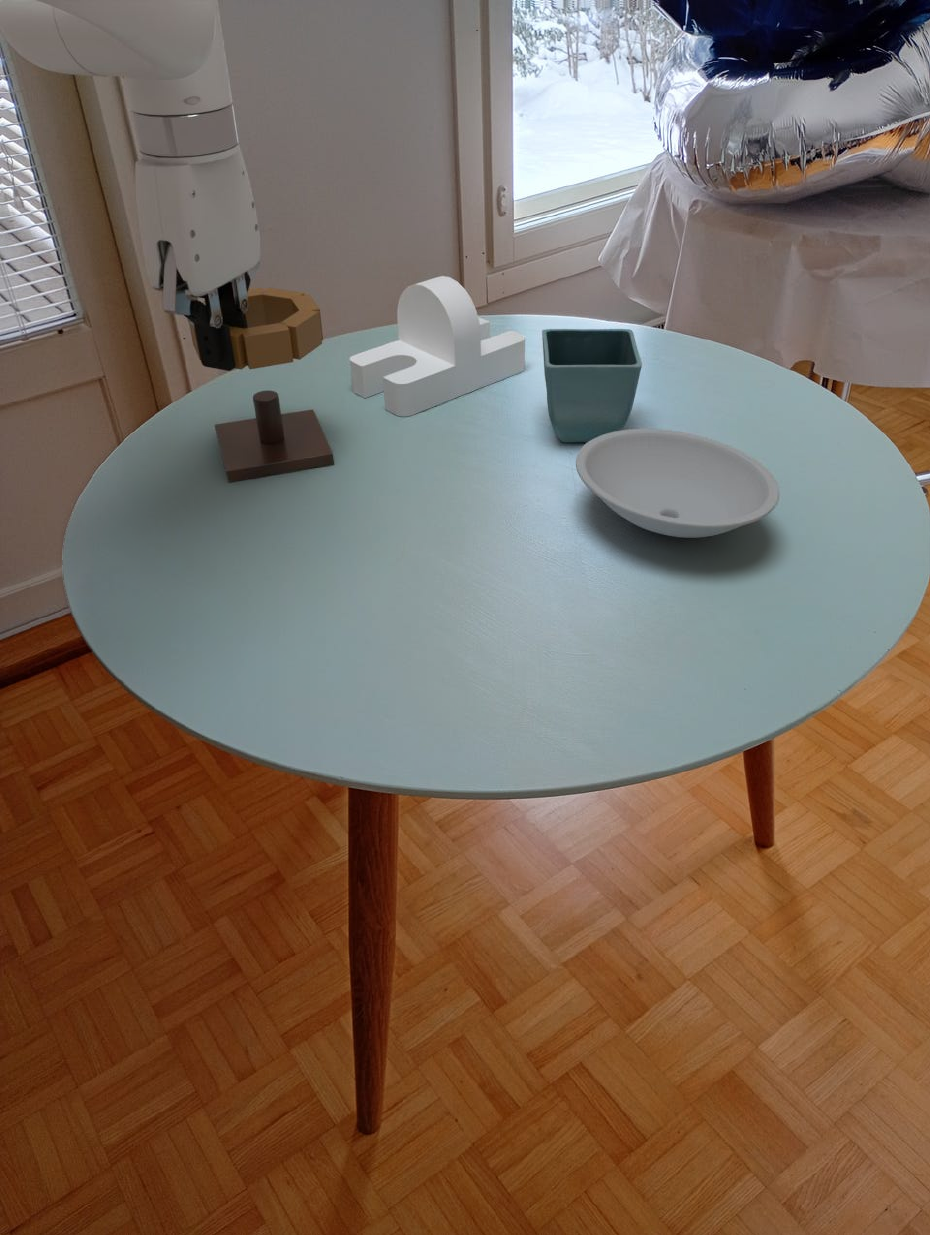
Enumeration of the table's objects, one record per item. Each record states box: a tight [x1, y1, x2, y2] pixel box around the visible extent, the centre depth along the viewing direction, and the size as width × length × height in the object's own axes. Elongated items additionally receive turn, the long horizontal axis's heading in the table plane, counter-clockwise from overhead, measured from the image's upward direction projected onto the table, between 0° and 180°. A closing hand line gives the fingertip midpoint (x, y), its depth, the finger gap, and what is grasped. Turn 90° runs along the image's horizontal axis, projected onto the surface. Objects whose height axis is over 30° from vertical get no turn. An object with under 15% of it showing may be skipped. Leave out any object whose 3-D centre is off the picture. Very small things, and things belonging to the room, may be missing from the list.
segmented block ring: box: [188, 287, 324, 370], centre depth 89 cm, size 11×11×3 cm
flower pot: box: [541, 328, 643, 443], centre depth 95 cm, size 9×9×9 cm
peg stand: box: [214, 390, 335, 483], centre depth 94 cm, size 10×10×6 cm
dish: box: [575, 428, 780, 539], centre depth 83 cm, size 18×14×5 cm
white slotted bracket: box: [349, 275, 526, 418], centre depth 105 cm, size 10×18×11 cm, turn 131°
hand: (227, 360), depth 86 cm, fingers closed on segmented block ring
